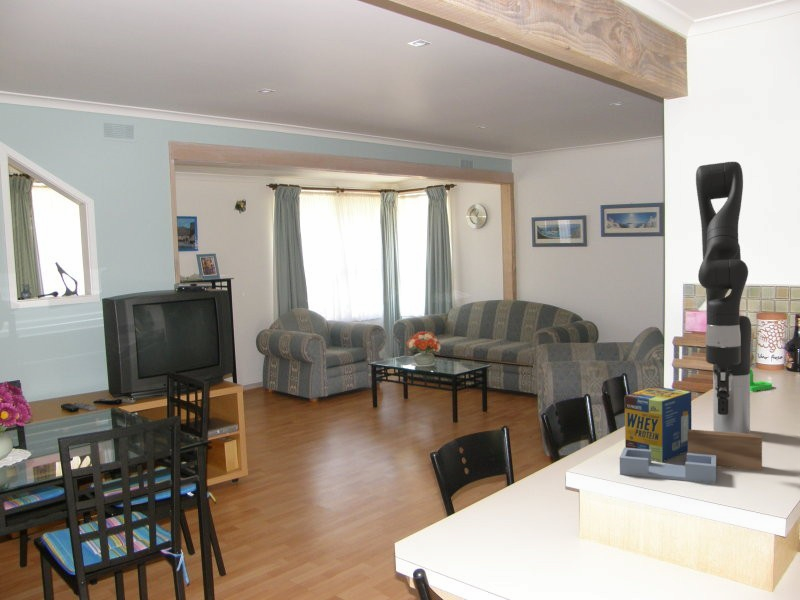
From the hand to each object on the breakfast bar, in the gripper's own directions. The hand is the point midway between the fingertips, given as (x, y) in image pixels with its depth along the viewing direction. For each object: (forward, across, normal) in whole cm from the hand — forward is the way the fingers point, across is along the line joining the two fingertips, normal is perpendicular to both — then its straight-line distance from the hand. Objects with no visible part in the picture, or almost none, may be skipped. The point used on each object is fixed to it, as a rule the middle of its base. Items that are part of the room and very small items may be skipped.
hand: (723, 410), depth 162 cm
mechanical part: (+13, -94, +11) cm, 96 cm away
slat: (+14, 0, 0) cm, 14 cm away
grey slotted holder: (+14, +10, -12) cm, 20 cm away
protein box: (+14, -7, -15) cm, 22 cm away
